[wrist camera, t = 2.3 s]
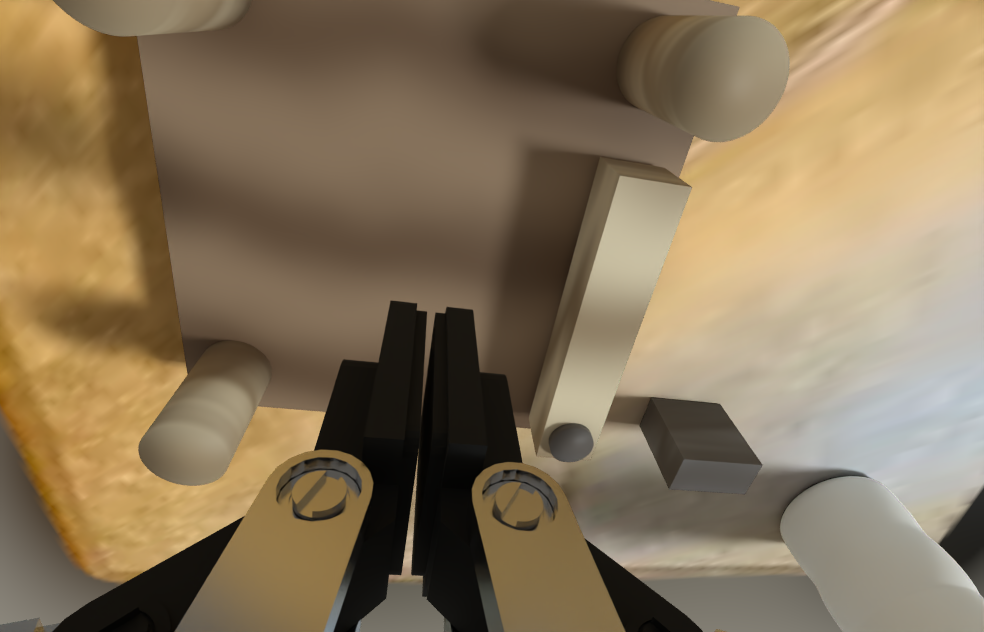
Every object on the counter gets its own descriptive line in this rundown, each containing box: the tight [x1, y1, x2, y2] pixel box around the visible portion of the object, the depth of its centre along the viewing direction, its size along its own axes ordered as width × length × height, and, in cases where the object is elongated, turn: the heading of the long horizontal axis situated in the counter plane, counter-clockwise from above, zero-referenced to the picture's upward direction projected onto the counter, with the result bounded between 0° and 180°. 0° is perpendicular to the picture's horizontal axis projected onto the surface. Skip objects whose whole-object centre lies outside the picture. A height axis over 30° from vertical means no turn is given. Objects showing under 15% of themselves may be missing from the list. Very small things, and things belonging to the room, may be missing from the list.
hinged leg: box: [529, 157, 692, 462], centre depth 20 cm, size 12×2×3 cm, turn 170°
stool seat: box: [53, 0, 789, 494], centre depth 19 cm, size 19×26×8 cm
